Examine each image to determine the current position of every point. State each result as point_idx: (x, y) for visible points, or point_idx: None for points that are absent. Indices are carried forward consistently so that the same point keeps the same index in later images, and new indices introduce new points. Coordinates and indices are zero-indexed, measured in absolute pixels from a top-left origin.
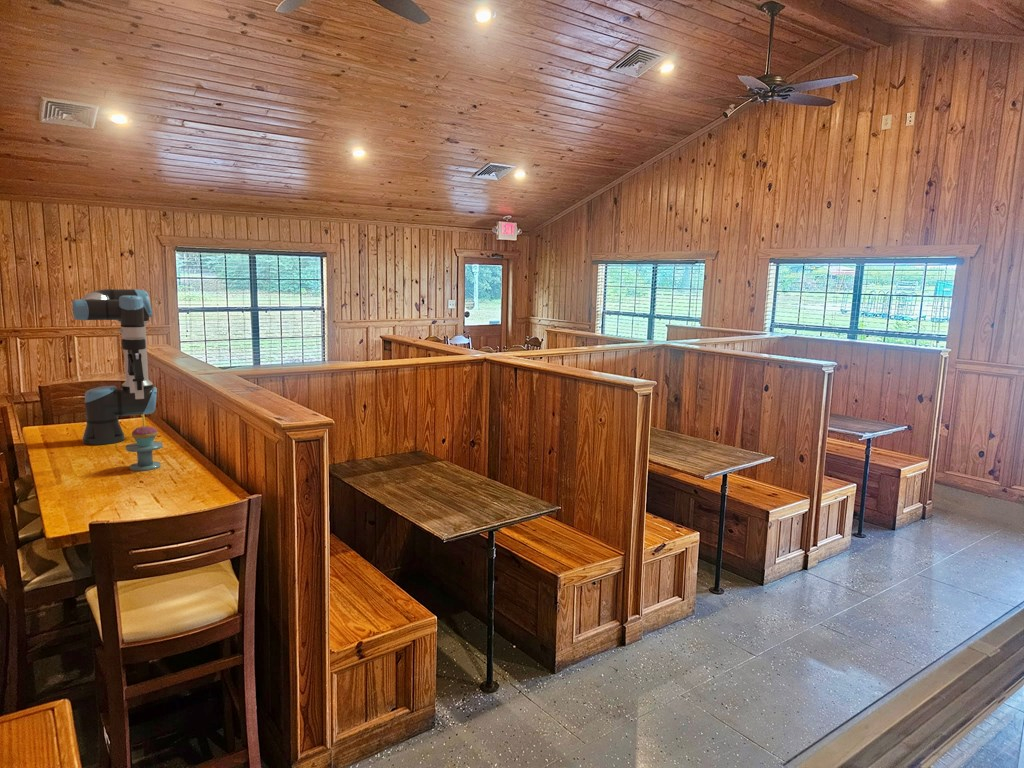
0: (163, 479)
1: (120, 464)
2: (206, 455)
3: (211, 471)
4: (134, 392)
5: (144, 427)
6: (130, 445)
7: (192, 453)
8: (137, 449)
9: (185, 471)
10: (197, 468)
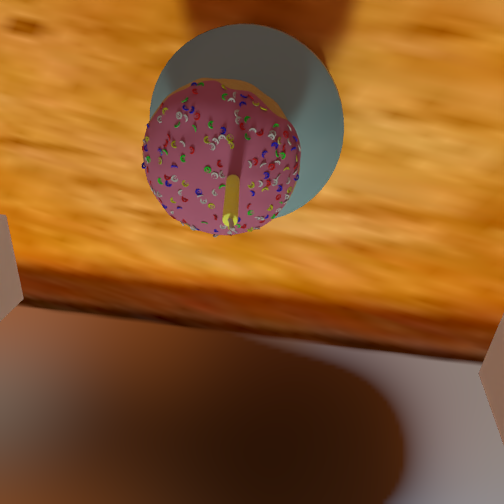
0: (28, 112)
1: (405, 9)
2: (308, 339)
3: (70, 276)
4: (498, 337)
5: (195, 173)
6: (284, 63)
7: (378, 317)
8: (161, 74)
9: (110, 211)
10: (133, 256)
